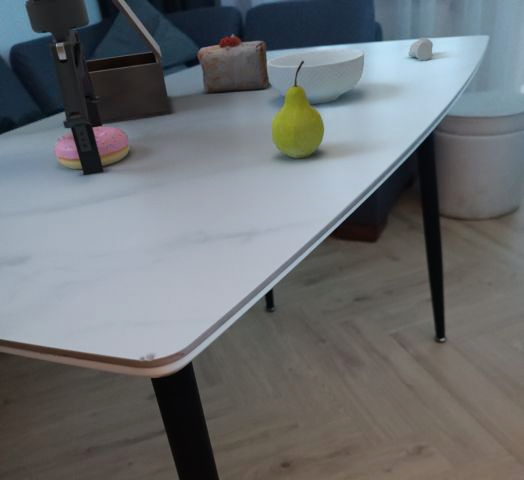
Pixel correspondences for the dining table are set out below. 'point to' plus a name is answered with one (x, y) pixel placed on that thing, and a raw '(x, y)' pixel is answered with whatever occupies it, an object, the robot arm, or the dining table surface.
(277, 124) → the fruit
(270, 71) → the cereal bowl
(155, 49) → the lid
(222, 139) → the dining table surface
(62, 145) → the doughnut
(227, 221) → the dining table surface
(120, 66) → the chest
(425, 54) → the pale two-lobed sculpture
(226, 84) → the food item
